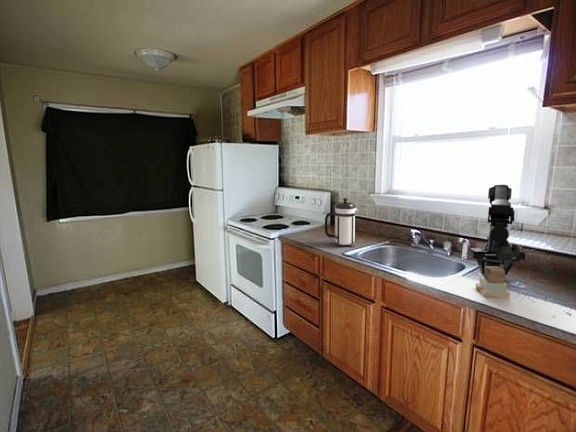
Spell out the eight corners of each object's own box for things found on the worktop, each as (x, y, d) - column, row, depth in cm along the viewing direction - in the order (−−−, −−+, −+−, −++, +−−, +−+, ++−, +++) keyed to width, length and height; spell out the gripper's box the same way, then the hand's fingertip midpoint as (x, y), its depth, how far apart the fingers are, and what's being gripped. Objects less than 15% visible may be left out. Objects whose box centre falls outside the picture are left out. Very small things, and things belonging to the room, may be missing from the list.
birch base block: (475, 290, 131) (476, 283, 131) (497, 290, 130) (498, 283, 130) (485, 298, 123) (485, 291, 123) (508, 299, 122) (509, 292, 122)
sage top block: (479, 283, 131) (480, 276, 130) (498, 284, 129) (499, 277, 129) (486, 290, 124) (486, 283, 123) (506, 291, 122) (507, 284, 122)
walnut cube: (483, 277, 128) (484, 266, 128) (497, 278, 128) (498, 266, 127) (490, 282, 124) (491, 270, 123) (503, 283, 123) (505, 270, 122)
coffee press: (343, 240, 212) (344, 195, 207) (361, 245, 199) (362, 198, 194) (323, 244, 203) (323, 198, 197) (341, 250, 190) (342, 200, 184)
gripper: (481, 241, 116) (477, 281, 118) (537, 242, 113) (532, 283, 116) (468, 234, 126) (465, 271, 129) (519, 234, 124) (515, 272, 127)
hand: (493, 274), depth 125 cm, fingers open, 8 cm apart
